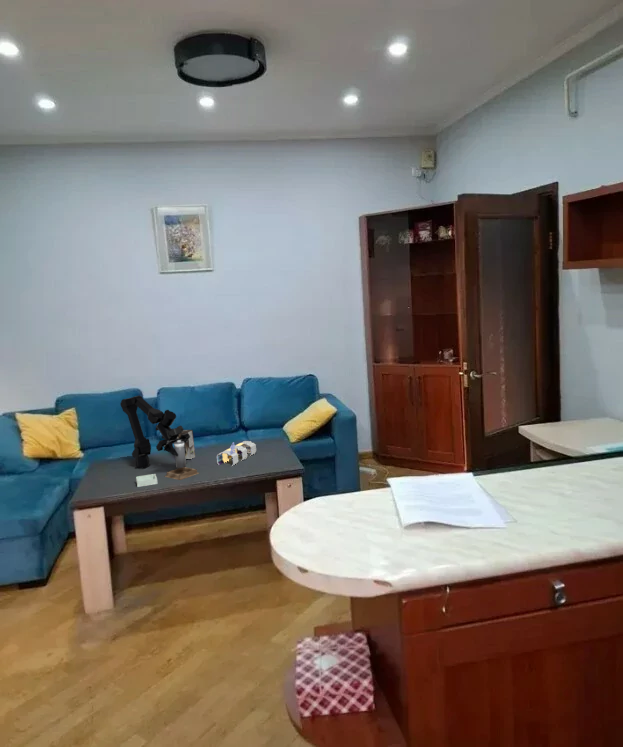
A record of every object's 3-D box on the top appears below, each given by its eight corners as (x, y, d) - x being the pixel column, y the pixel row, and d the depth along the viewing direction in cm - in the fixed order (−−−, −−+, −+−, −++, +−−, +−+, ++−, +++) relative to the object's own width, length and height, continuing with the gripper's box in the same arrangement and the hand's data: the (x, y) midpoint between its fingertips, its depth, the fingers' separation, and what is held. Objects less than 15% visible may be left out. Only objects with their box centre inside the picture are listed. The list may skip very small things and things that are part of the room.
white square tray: (136, 482, 301) (135, 476, 301) (155, 479, 304) (155, 473, 304) (137, 487, 292) (137, 482, 292) (157, 484, 295) (157, 478, 295)
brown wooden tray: (164, 477, 307) (163, 472, 307) (183, 470, 317) (183, 465, 317) (180, 481, 299) (179, 476, 298) (200, 473, 309) (199, 469, 308)
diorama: (233, 467, 318) (231, 443, 316) (217, 466, 322) (215, 442, 320) (256, 454, 340) (254, 432, 339) (241, 453, 345) (239, 431, 343)
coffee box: (195, 456, 343) (193, 429, 341) (190, 460, 337) (188, 432, 335) (181, 456, 345) (178, 429, 343) (176, 459, 339) (173, 432, 337)
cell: (174, 468, 305) (172, 441, 303) (178, 465, 310) (176, 439, 308) (183, 468, 304) (181, 441, 302) (187, 465, 309) (185, 439, 307)
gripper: (157, 425, 299) (173, 449, 294) (186, 418, 314) (202, 440, 308) (149, 439, 305) (164, 462, 300) (178, 431, 320) (193, 453, 314)
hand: (181, 454), depth 305 cm, fingers closed on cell, 5 cm apart
